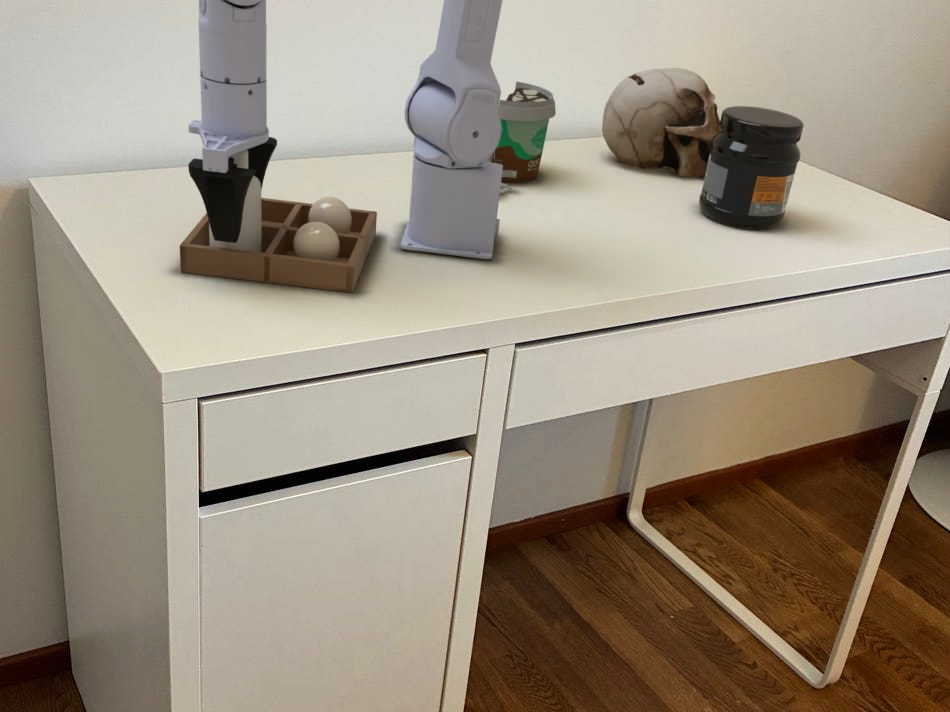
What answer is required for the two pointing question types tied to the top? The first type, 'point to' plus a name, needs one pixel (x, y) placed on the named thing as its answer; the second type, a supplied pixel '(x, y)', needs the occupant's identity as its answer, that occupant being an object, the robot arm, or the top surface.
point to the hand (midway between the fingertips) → (235, 227)
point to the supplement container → (751, 167)
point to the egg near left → (331, 214)
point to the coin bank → (662, 121)
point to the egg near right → (316, 242)
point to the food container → (523, 132)
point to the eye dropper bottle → (246, 215)
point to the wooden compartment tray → (283, 251)
